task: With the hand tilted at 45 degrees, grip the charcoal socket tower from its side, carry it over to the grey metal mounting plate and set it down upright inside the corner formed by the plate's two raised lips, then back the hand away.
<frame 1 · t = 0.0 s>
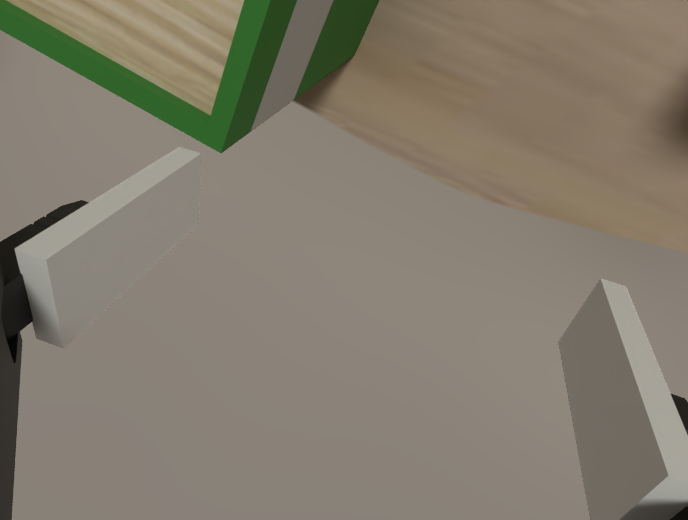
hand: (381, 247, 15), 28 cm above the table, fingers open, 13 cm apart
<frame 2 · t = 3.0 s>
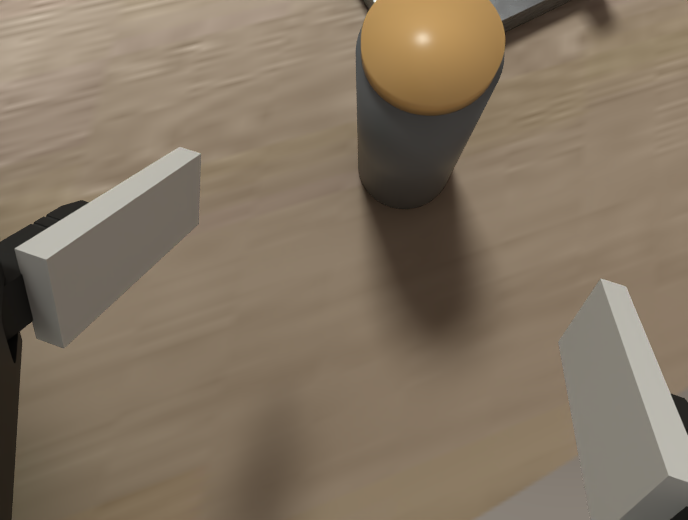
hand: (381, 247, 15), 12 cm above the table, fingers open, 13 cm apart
socket tower: (403, 164, 29), on the table
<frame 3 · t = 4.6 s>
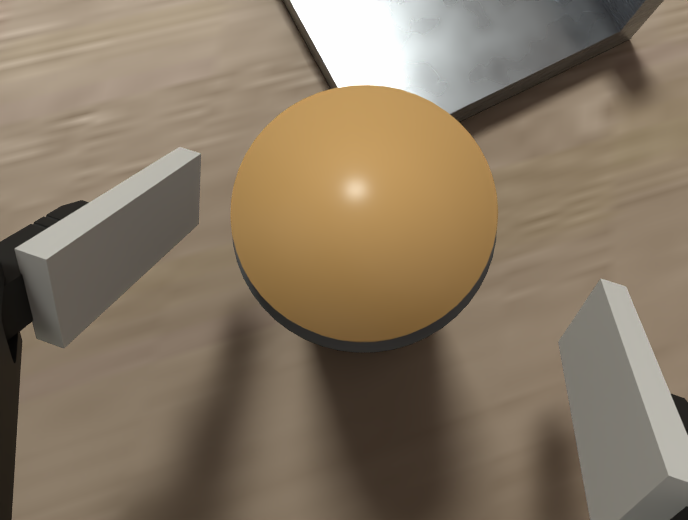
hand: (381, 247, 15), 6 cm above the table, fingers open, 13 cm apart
socket tower: (363, 288, 21), on the table
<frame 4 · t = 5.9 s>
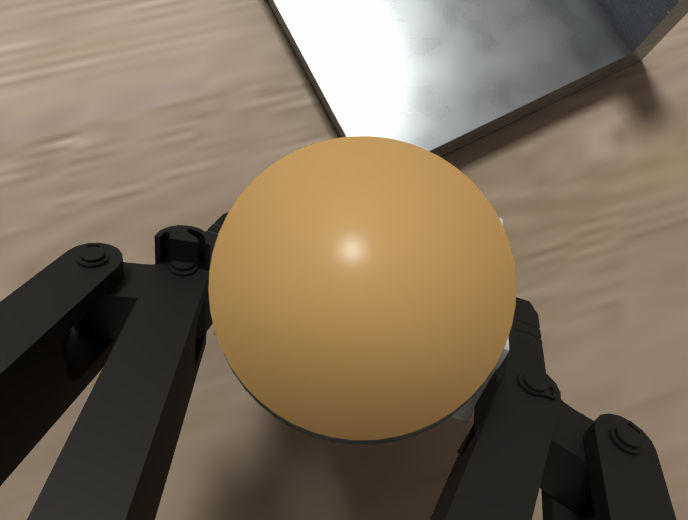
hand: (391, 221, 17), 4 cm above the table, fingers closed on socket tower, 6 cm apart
socket tower: (359, 324, 20), on the table, touching gripper
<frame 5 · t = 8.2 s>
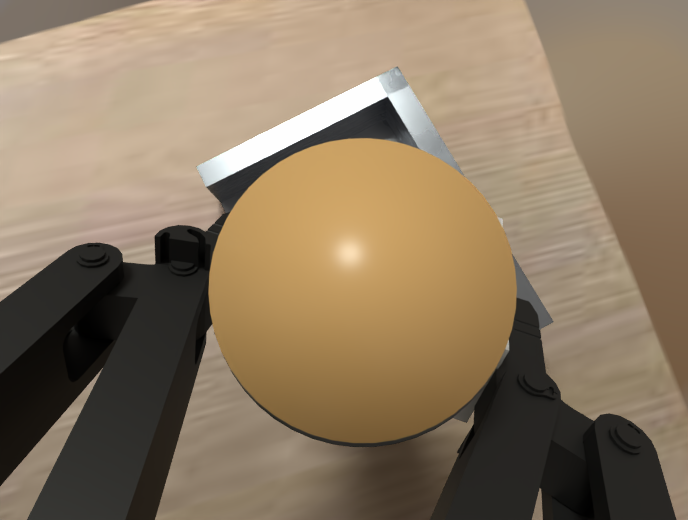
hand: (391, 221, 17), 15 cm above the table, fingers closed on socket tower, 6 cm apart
socket tower: (359, 325, 20), point 11 cm above the table, touching gripper
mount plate: (366, 255, 32), on the table
when the fingers open (7 cm above the table, at t = 10.4 s): socket tower drops 1 cm, resting on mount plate.
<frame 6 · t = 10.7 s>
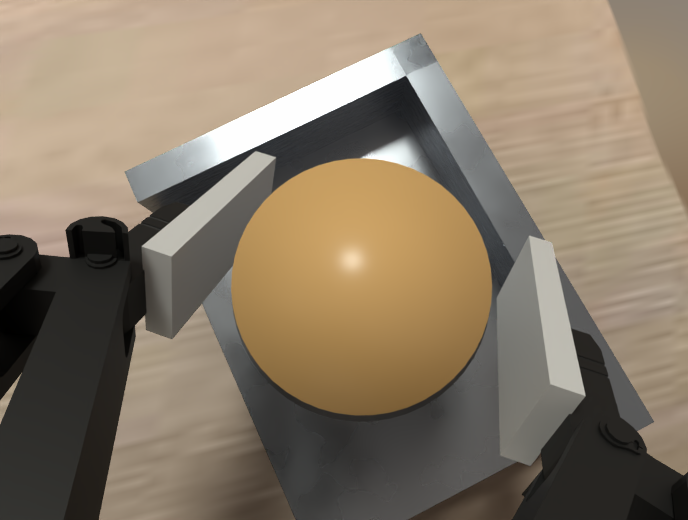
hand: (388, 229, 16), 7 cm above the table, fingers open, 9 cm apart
socket tower: (359, 327, 21), point 2 cm above the table, touching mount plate
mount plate: (368, 300, 23), on the table
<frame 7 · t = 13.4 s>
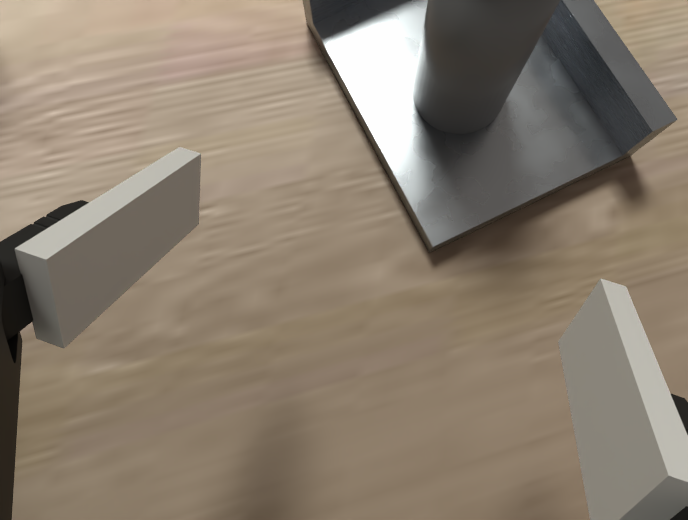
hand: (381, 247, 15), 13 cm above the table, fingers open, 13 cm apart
socket tower: (458, 92, 29), point 2 cm above the table, touching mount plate
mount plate: (460, 85, 31), on the table
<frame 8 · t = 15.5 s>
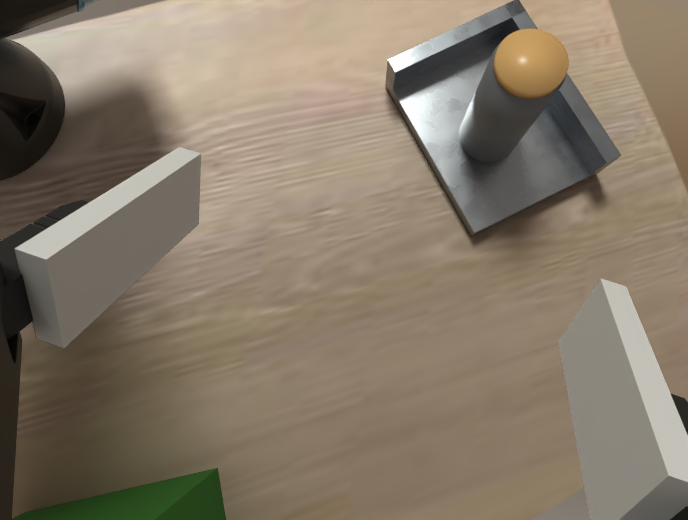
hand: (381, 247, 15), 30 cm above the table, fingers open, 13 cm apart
socket tower: (487, 134, 46), point 2 cm above the table, touching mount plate
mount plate: (488, 128, 48), on the table
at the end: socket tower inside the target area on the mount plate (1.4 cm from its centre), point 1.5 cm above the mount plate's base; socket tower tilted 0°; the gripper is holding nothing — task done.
